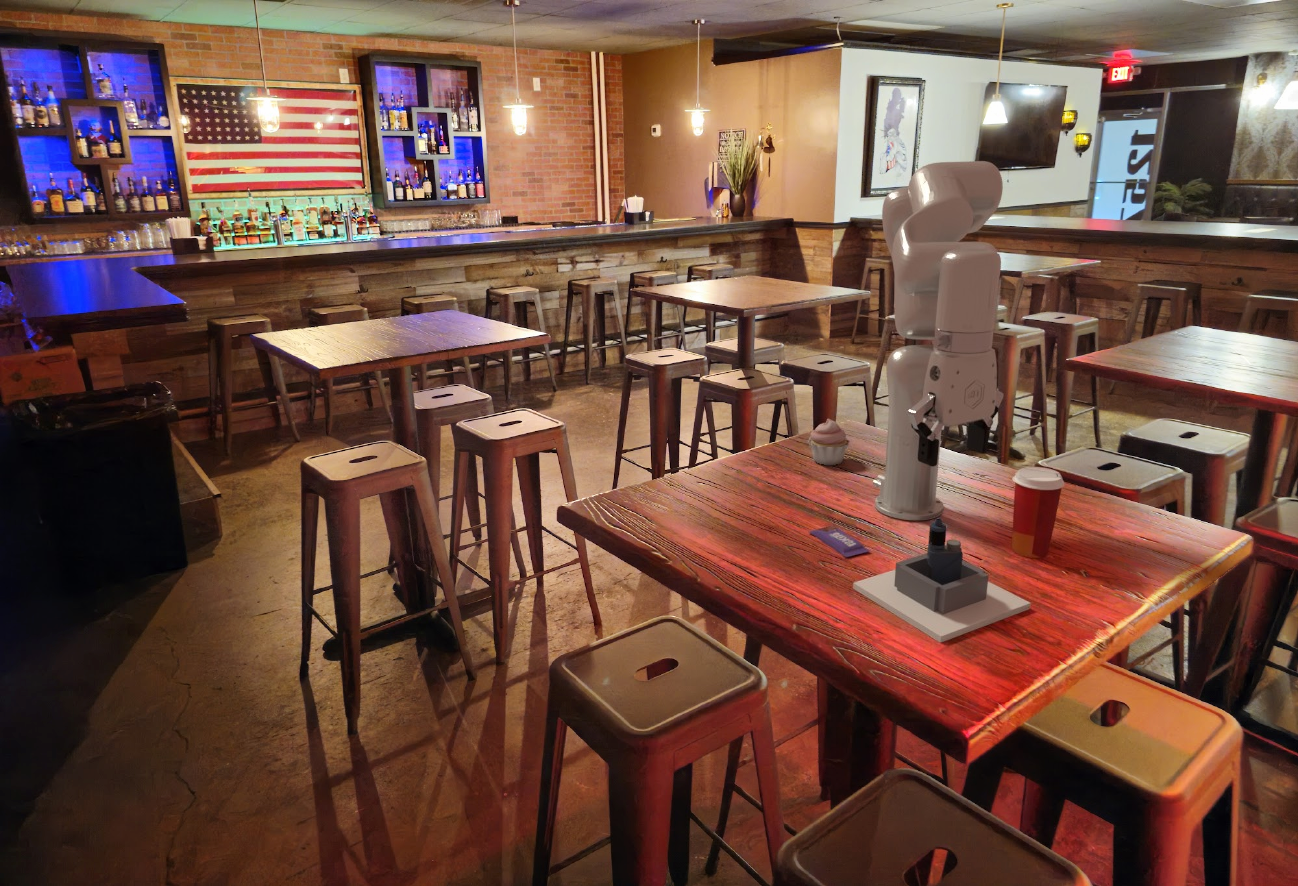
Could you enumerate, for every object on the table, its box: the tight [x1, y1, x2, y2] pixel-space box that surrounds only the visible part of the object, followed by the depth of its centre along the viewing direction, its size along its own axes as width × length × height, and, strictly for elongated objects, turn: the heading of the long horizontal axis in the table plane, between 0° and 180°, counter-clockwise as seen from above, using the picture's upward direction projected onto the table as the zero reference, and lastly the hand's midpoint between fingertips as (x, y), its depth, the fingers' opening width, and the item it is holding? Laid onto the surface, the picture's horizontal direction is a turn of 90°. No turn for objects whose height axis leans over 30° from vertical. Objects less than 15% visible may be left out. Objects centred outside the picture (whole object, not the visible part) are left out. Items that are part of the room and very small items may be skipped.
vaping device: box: [926, 517, 964, 585], centre depth 123 cm, size 3×5×12 cm, turn 92°
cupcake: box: [806, 418, 850, 466], centre depth 183 cm, size 9×9×10 cm
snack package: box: [808, 525, 870, 558], centre depth 145 cm, size 12×2×5 cm
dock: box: [852, 552, 1031, 644], centre depth 125 cm, size 18×18×5 cm
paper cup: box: [1011, 466, 1066, 559], centre depth 137 cm, size 8×8×14 cm
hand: (952, 457), depth 119 cm, fingers open, 9 cm apart
